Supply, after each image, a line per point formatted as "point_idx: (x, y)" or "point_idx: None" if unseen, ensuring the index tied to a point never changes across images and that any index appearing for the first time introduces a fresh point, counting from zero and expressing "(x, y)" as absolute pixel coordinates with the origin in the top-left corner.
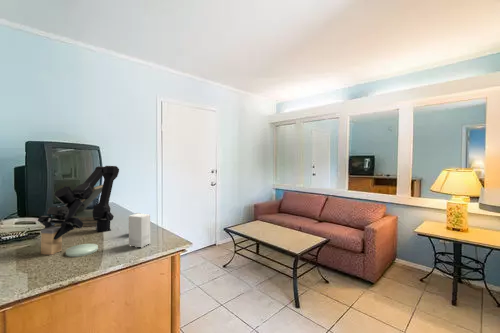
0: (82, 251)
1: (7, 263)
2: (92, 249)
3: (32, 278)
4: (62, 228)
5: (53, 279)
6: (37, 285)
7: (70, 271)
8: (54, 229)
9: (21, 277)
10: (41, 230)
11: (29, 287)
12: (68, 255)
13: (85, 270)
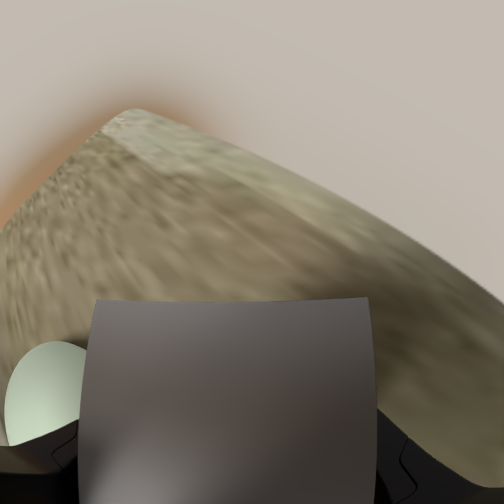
0: (32, 373)
1: (361, 218)
2: (9, 401)
3: (121, 158)
4: (35, 441)
5: (66, 173)
6: (90, 145)
7: (39, 219)
8: (89, 359)
9: (160, 151)
10: (340, 303)
11: (103, 135)
12: None
13: (9, 235)
